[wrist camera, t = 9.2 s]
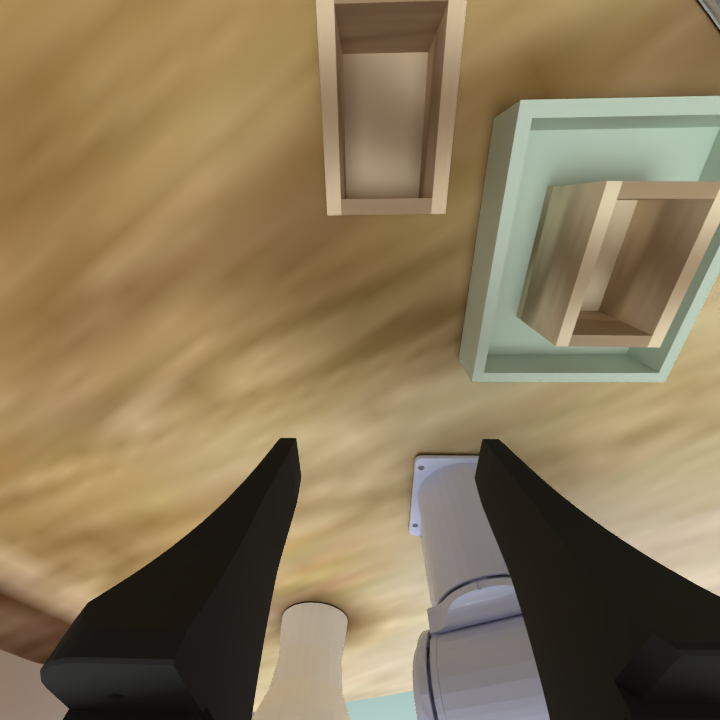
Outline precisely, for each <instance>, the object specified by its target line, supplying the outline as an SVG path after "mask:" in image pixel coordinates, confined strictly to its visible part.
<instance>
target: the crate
mask: <svg viewBox="0 0 720 720" xmlns="http://www.w3.org/2000/svg"><path fill="white" fill-rule="evenodd" d="M466 4H467V0H316V11H317V29H318V48H319V67H320V86H321V105H322V124H323V143H324V162H325V181H326V200H327V215H393V214H445V213H446V203H447V193H448V183H449V173H450V163H451V153H452V143H453V133H454V123H455V113H456V103H457V94H458V84H459V74H460V64H461V54H462V44H463V34H464V24H465V14H466Z"/></svg>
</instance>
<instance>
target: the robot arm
mask: <svg viewBox="0 0 720 720" xmlns="http://www.w3.org/2000/svg"><path fill="white" fill-rule="evenodd" d="M421 465H422V466H421ZM419 466H421V467H419ZM300 481H301V471H300V464H299V456H298V448H297V441H296V438H280V439H279V440H278V441H277V443H276V444H275V445H274V446H273V448H272V449H271V450H270V451H269V453H268V454H267V455H266V456H265V458H264V459H263V460H262V461H261V462H260V464H259V465H258V466H257V467H256V468H255V469H254V470H253V472H252V473H251V474H250V475H249V476H248V477H247V479H246V480H245V481H244V482H243V483H242V484H241V485H240V486H239V487H238V488H237V489H236V490H235V491H234V492H233V493H232V494H231V495H230V497H229V498H228V499H227V500H226V501H225V502H224V503H222V504H221V505H220V506H219V507H218V508H217V509H216V510H215V511H214V512H213V513H212V514H211V515H210V516H209V517H207V518H206V519H205V520H204V521H203V522H202V523H201V524H199V525H198V526H197V527H196V528H195V529H193V530H192V531H191V532H190V533H189V534H187V535H186V536H185V537H184V538H182V539H181V540H180V541H179V542H177V543H176V544H175V545H174V546H172V547H171V548H170V549H168V550H167V551H166V552H164V553H163V554H161V555H160V556H159V557H157V558H156V559H155V560H153V561H152V562H150V563H149V564H147V565H146V566H145V567H143V568H142V569H140V570H139V571H137V572H136V573H134V574H133V575H131V576H130V577H128V578H127V579H125V580H124V581H122V582H120V583H119V584H117V585H116V586H114V587H112V588H111V589H109V590H108V591H106V592H105V593H103V594H101V595H100V596H98V597H97V598H95V599H93V600H92V601H90V602H88V603H87V605H86V606H85V607H84V609H83V610H82V611H81V613H80V614H79V615H78V616H77V618H76V619H75V620H74V622H73V623H72V625H71V626H70V628H69V629H68V631H67V632H66V633H65V635H64V636H63V638H62V639H61V641H60V642H59V644H58V645H57V646H56V648H55V649H54V651H53V652H52V654H51V655H50V657H49V658H48V659H47V661H46V662H45V664H44V665H43V667H42V668H41V670H40V674H41V681H42V683H43V684H44V685H45V686H46V688H47V689H48V690H49V691H51V692H52V693H53V694H54V695H55V696H56V697H57V698H58V699H59V700H60V701H62V703H64V704H65V705H66V706H67V707H68V708H69V710H68V712H67V713H66V715H65V717H64V719H63V720H251V718H252V711H253V705H254V698H255V692H256V686H257V679H258V673H259V667H260V661H261V655H262V650H263V644H264V638H265V632H266V627H267V622H268V616H269V611H270V605H271V600H272V595H273V590H274V585H275V580H276V575H277V571H278V567H279V563H280V559H281V556H282V552H283V549H284V545H285V542H286V539H287V535H288V532H289V528H290V525H291V521H292V518H293V514H294V511H295V507H296V504H297V499H298V493H299V487H300ZM409 534H410V535H412V536H421V542H422V549H423V555H424V561H425V568H426V574H427V580H428V586H429V593H430V599H431V603H432V607H431V608H428V609H427V613H428V620H429V627H430V630H426V631H424V632H422V633H421V635H420V637H419V640H418V643H417V648H416V650H415V654H414V659H413V689H414V699H415V706H416V713H417V719H418V720H720V597H719V596H717V595H715V594H713V593H711V592H710V591H708V590H706V589H704V588H702V587H700V586H698V585H696V584H694V583H693V582H691V581H689V580H687V579H686V578H684V577H682V576H680V575H679V574H677V573H675V572H673V571H672V570H670V569H668V568H666V567H665V566H663V565H661V564H660V563H658V562H656V561H655V560H653V559H651V558H650V557H648V556H646V555H645V554H643V553H642V552H640V551H638V550H637V549H635V548H634V547H632V546H631V545H629V544H628V543H626V542H624V541H623V540H621V539H620V538H618V537H617V536H615V535H614V534H612V533H611V532H609V531H608V530H606V529H605V528H604V527H602V526H601V525H600V524H598V523H597V522H595V521H594V520H593V519H591V518H590V517H588V516H587V515H586V514H584V513H583V512H582V511H580V510H579V509H578V508H576V507H575V506H574V505H573V504H571V503H570V502H569V501H568V500H566V499H565V498H564V497H563V496H561V495H560V494H559V493H558V492H556V491H555V490H554V489H553V488H552V487H551V486H549V485H548V484H547V483H546V482H545V481H544V480H543V479H541V478H540V477H539V476H538V475H537V474H536V473H535V472H534V471H532V470H531V469H530V468H529V467H528V466H527V465H526V464H525V463H524V462H523V461H522V460H521V459H519V458H518V457H517V456H516V455H515V454H514V453H513V452H512V451H511V450H510V449H509V448H508V447H507V446H506V445H504V444H503V443H502V442H501V441H500V440H499V439H483V440H482V445H481V449H480V454H479V456H443V455H420V456H417V457H416V458H415V464H414V475H413V486H412V497H411V508H410V520H409Z"/></svg>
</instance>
